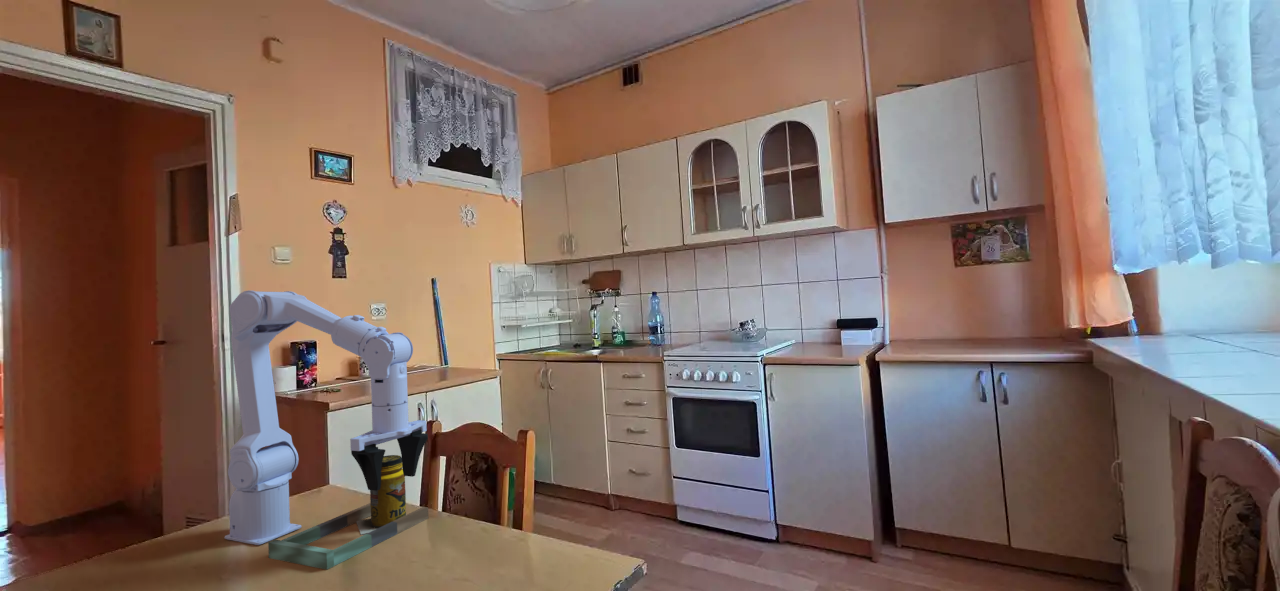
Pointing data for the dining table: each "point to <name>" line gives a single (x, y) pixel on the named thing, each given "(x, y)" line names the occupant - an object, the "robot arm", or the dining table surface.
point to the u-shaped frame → (324, 558)
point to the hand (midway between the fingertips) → (392, 482)
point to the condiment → (387, 496)
